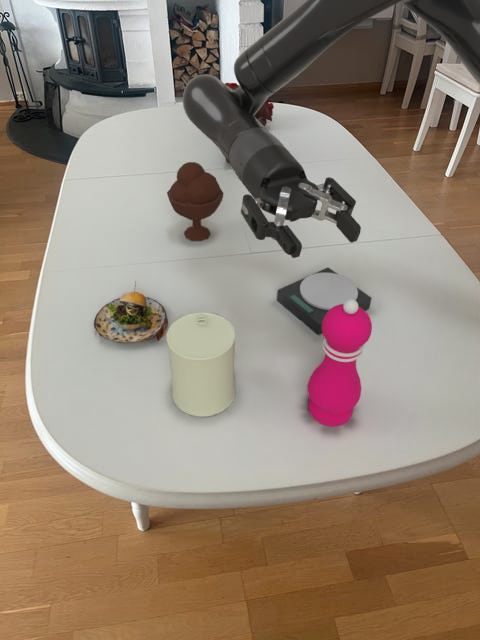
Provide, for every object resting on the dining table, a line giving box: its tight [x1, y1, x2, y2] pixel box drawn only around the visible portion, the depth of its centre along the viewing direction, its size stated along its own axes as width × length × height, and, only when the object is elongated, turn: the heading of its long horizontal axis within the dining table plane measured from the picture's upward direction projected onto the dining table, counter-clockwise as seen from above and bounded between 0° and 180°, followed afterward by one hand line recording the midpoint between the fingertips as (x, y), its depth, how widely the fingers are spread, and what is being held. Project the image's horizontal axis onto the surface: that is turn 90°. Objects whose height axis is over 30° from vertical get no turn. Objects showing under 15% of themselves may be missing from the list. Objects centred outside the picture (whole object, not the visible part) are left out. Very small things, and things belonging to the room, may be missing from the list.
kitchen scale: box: [276, 266, 372, 336], centre depth 91 cm, size 12×11×3 cm
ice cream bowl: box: [166, 161, 225, 242], centre depth 103 cm, size 11×11×15 cm
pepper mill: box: [307, 299, 373, 427], centre depth 67 cm, size 7×7×20 cm
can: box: [166, 312, 236, 418], centre depth 72 cm, size 9×9×12 cm
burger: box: [93, 281, 169, 344], centre depth 84 cm, size 12×12×8 cm
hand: (328, 244), depth 63 cm, fingers open, 8 cm apart
